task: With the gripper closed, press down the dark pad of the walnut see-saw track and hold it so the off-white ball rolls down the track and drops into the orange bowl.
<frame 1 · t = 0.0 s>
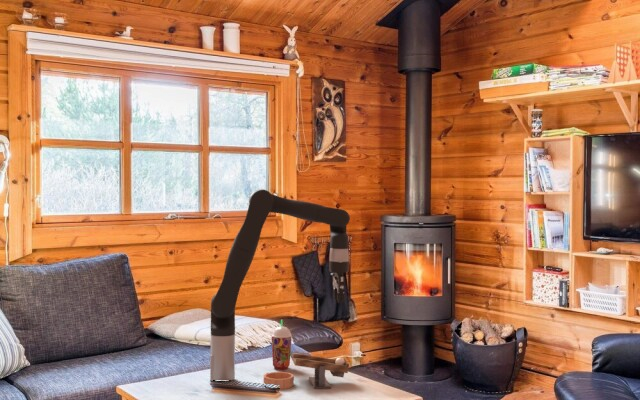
hand: (338, 301, 283), 29 cm above the table, fingers open, 8 cm apart
orange bowl: (278, 385, 268), on the table
smoothie: (281, 369, 294), on the table
ball: (340, 362, 272), point 8 cm above the table, tilted 24°, touching lever
lever: (318, 362, 275), point 7 cm above the table, hinge at 10.0°, touching ball
stand: (319, 383, 271), on the table
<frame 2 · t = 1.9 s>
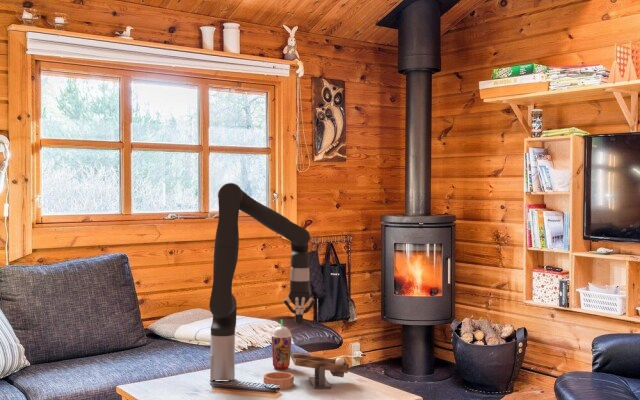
hand: (298, 323, 279), 21 cm above the table, fingers closed
nothing on the table moved.
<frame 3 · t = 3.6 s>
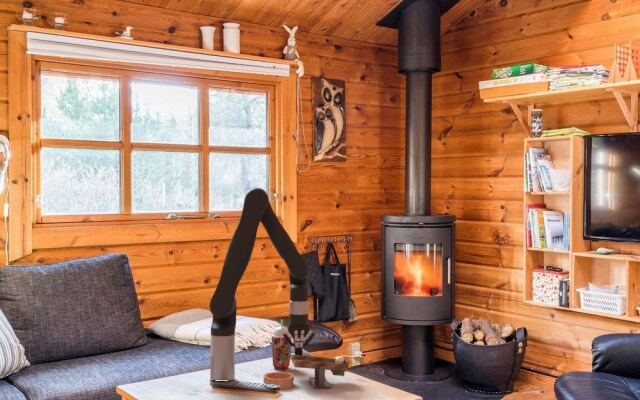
hand: (298, 356, 278), 8 cm above the table, fingers closed
lever: (318, 362, 275), point 7 cm above the table, hinge at 6.2°, touching ball, gripper
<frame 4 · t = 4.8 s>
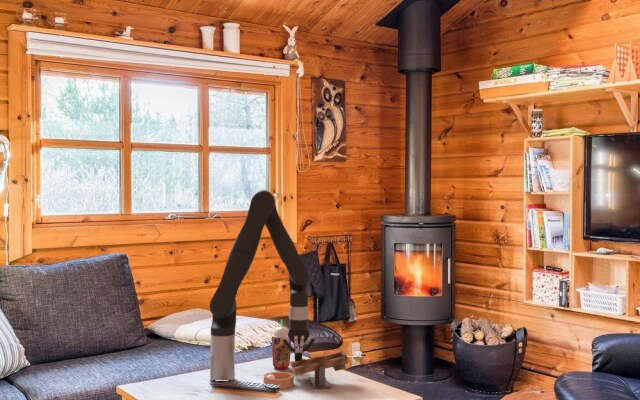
hand: (298, 362, 278), 6 cm above the table, fingers closed
ball: (270, 379, 268), point 2 cm above the table, tilted 148°, touching orange bowl
lever: (318, 362, 275), point 7 cm above the table, hinge at -10.9°, touching gripper
everything else where it was.
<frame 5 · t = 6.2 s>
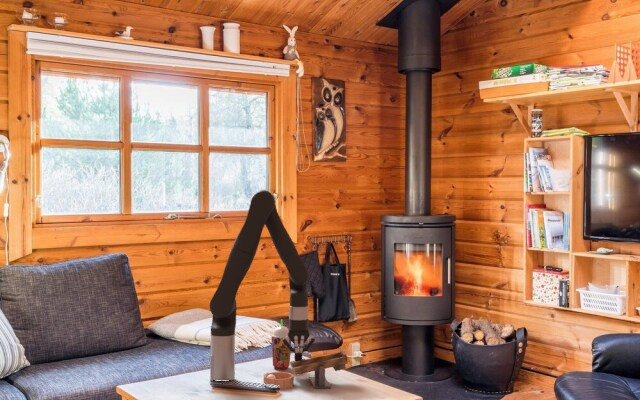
hand: (298, 362, 278), 6 cm above the table, fingers closed
ball: (271, 379, 268), point 2 cm above the table, tilted 141°, touching orange bowl
everything else where it was.
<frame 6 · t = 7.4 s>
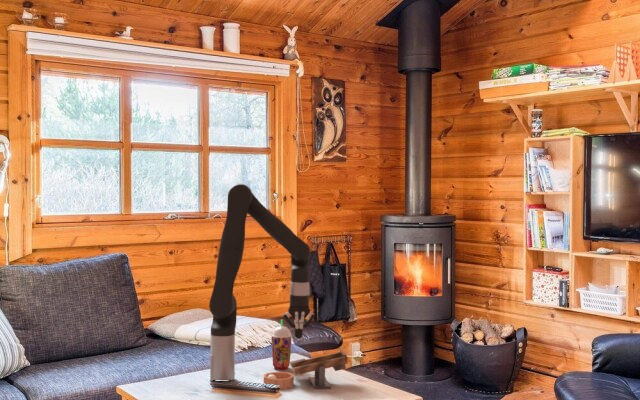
hand: (298, 338, 278), 16 cm above the table, fingers closed
ball: (271, 379, 268), point 2 cm above the table, tilted 134°, touching orange bowl
lever: (318, 362, 275), point 7 cm above the table, hinge at -10.9°
everything else where it was.
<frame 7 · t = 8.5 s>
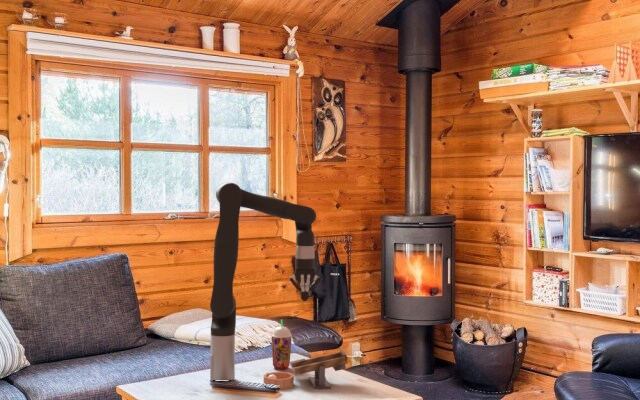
hand: (304, 300, 285), 29 cm above the table, fingers closed
ball: (272, 379, 268), point 2 cm above the table, tilted 129°, touching orange bowl
everything else where it was.
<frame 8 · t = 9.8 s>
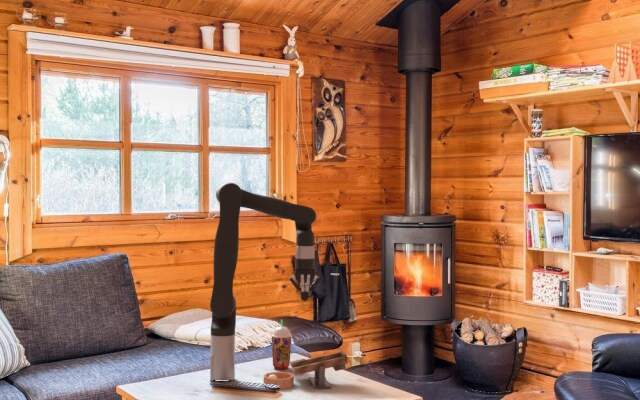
hand: (304, 300, 285), 29 cm above the table, fingers closed
ball: (272, 379, 268), point 2 cm above the table, tilted 122°, touching orange bowl
everything else where it was.
at the end: ball inside the target area on the orange bowl (2.2 cm from its centre), point 2.2 cm above the orange bowl's base; ball moved 25.3 cm from its start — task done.
